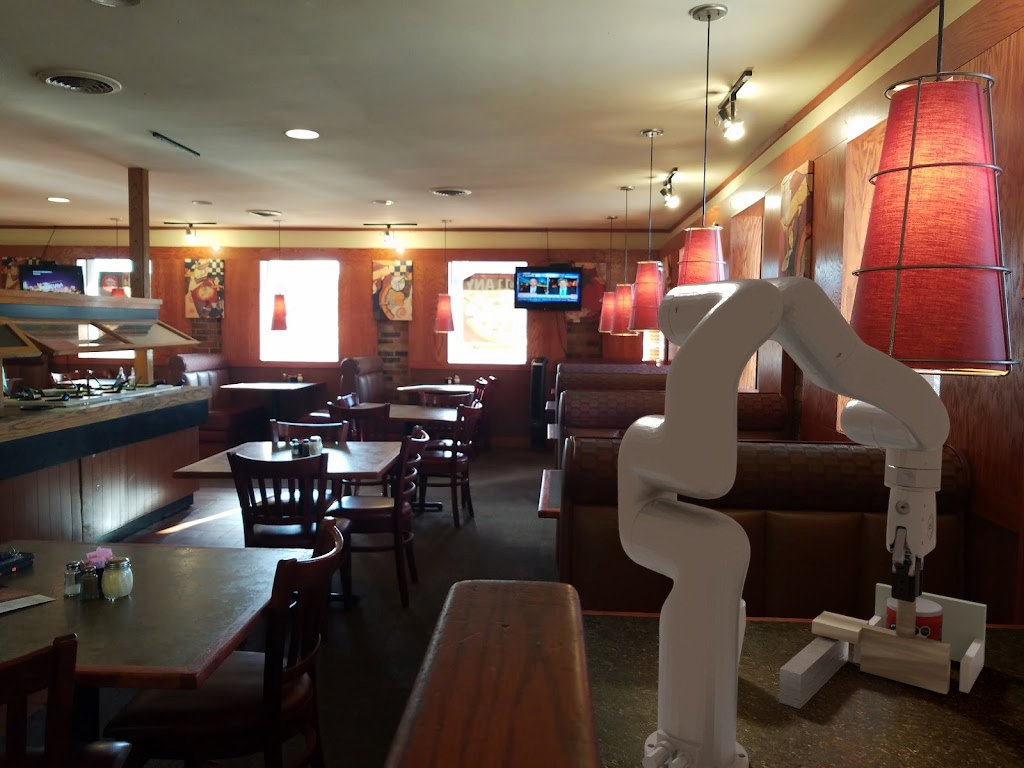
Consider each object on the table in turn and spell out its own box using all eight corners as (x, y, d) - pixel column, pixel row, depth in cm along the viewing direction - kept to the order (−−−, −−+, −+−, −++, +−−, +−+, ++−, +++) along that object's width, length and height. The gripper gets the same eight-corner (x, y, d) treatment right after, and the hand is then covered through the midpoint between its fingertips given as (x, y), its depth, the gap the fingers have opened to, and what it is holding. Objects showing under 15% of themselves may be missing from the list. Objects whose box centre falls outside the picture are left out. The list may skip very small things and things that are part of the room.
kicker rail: (799, 708, 106) (800, 674, 106) (778, 702, 108) (780, 668, 108) (847, 660, 123) (849, 630, 123) (829, 655, 125) (830, 626, 125)
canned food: (873, 666, 121) (875, 599, 120) (907, 657, 124) (910, 592, 123) (916, 686, 114) (919, 615, 113) (951, 676, 117) (954, 608, 116)
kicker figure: (943, 699, 109) (948, 574, 108) (810, 661, 121) (814, 549, 120) (951, 685, 113) (957, 565, 112) (823, 650, 126) (826, 542, 125)
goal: (968, 693, 112) (971, 627, 111) (853, 661, 122) (855, 602, 122) (983, 665, 122) (986, 604, 121) (875, 638, 132) (877, 583, 132)
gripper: (926, 488, 105) (920, 616, 106) (952, 475, 117) (946, 590, 118) (869, 480, 110) (863, 603, 111) (900, 469, 122) (894, 579, 123)
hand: (906, 595), depth 114 cm, fingers closed on kicker figure, 3 cm apart
